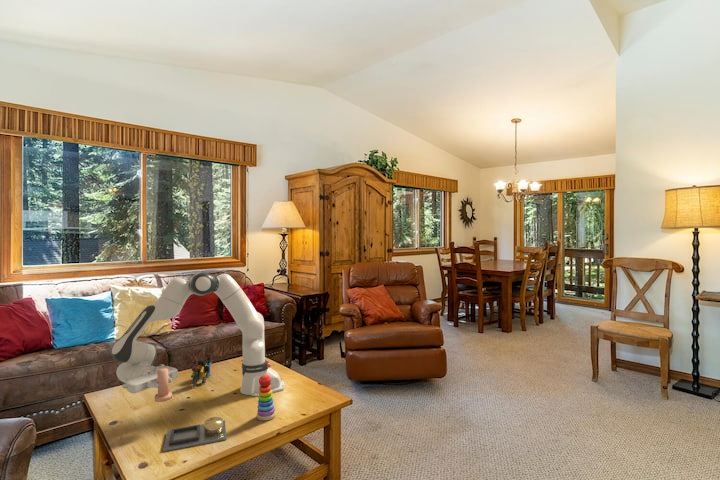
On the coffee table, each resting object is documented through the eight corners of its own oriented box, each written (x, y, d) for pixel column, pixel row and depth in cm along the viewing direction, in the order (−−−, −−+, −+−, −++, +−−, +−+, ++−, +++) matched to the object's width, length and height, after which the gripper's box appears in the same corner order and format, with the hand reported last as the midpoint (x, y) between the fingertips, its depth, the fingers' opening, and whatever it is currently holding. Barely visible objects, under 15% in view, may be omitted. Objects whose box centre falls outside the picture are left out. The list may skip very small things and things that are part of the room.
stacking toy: (258, 413, 173) (257, 371, 172) (276, 412, 173) (275, 370, 173) (255, 421, 165) (254, 378, 164) (274, 420, 165) (273, 377, 165)
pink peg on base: (172, 394, 165) (171, 366, 165) (171, 400, 159) (170, 371, 159) (155, 396, 163) (155, 368, 162) (153, 403, 157) (152, 373, 156)
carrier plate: (225, 423, 164) (224, 411, 164) (226, 439, 151) (225, 427, 151) (167, 433, 156) (167, 421, 156) (163, 451, 143) (163, 438, 143)
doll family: (198, 374, 220) (197, 351, 220) (214, 372, 222) (214, 349, 222) (190, 390, 198) (189, 364, 197) (208, 388, 200) (208, 363, 200)
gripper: (119, 378, 158) (139, 384, 151) (165, 362, 176) (185, 367, 169) (119, 393, 158) (139, 400, 151) (166, 376, 176) (185, 382, 169)
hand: (164, 383), depth 160 cm, fingers closed on pink peg on base, 4 cm apart
